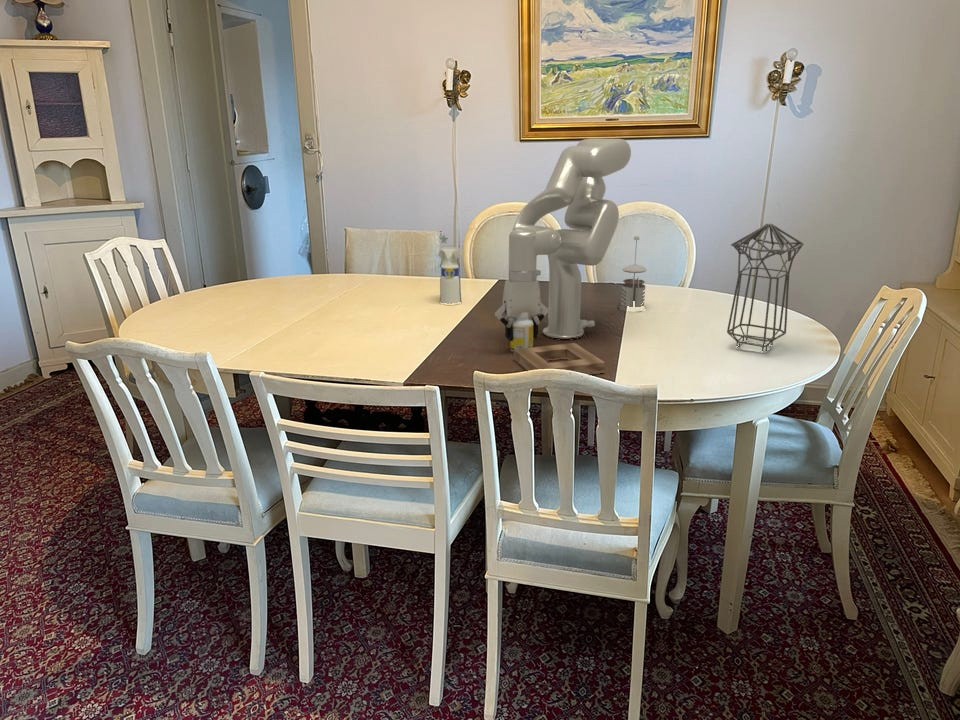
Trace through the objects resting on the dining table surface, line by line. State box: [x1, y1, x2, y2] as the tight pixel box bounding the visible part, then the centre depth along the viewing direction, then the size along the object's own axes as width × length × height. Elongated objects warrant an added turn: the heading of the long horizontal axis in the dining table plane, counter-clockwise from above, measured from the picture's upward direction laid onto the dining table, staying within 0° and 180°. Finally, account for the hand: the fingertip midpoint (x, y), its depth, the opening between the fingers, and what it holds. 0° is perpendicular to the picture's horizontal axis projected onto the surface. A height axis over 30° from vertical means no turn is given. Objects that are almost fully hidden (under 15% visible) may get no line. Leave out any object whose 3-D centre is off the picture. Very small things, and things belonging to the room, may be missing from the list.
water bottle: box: [437, 234, 464, 304], centre depth 253 cm, size 8×9×25 cm
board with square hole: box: [513, 342, 606, 374], centre depth 189 cm, size 18×18×3 cm
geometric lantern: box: [726, 223, 804, 352], centre depth 198 cm, size 16×16×35 cm
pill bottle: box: [509, 313, 534, 352], centre depth 201 cm, size 6×6×12 cm
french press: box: [620, 235, 647, 307], centre depth 242 cm, size 10×12×25 cm
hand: (521, 338), depth 202 cm, fingers closed on pill bottle, 6 cm apart
